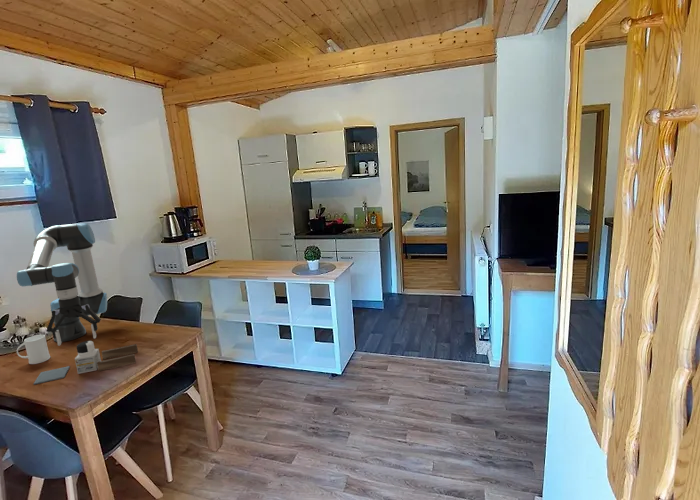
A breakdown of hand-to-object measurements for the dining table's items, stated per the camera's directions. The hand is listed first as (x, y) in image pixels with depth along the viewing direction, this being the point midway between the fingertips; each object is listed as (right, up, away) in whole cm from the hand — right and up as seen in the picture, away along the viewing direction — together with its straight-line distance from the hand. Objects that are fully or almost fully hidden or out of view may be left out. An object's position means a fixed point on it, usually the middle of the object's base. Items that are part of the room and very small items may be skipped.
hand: (77, 340), depth 172 cm
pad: (-10, -15, -2) cm, 19 cm away
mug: (-31, -14, +13) cm, 36 cm away
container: (+4, -14, +3) cm, 15 cm away
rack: (+14, -12, +9) cm, 20 cm away
